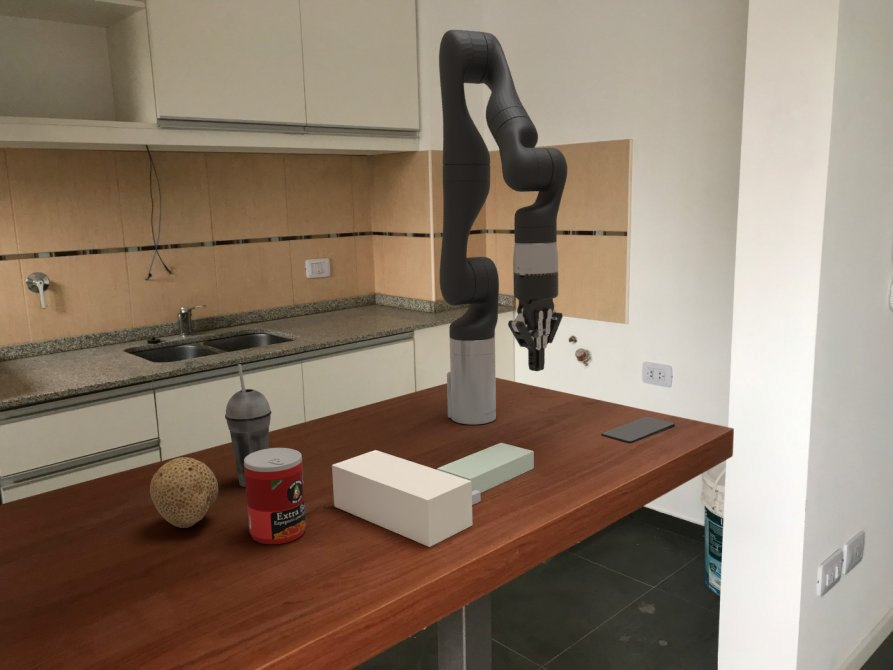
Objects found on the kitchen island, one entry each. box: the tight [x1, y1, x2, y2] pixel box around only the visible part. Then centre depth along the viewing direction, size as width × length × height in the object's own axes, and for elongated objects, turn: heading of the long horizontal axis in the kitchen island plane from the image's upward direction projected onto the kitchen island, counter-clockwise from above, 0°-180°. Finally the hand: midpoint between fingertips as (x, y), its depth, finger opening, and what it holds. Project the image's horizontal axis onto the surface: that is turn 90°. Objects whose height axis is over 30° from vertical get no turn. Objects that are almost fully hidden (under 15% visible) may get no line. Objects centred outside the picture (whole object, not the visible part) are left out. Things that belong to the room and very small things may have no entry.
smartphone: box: [600, 416, 676, 444], centre depth 140 cm, size 7×1×15 cm
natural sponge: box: [149, 456, 219, 529], centre depth 103 cm, size 9×9×10 cm
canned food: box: [244, 447, 307, 545], centre depth 100 cm, size 8×8×11 cm
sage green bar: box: [436, 442, 535, 493], centre depth 118 cm, size 7×16×3 cm, turn 137°
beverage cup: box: [224, 363, 272, 488], centre depth 117 cm, size 7×7×20 cm
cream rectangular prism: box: [331, 449, 482, 548], centre depth 107 cm, size 20×16×6 cm
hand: (536, 370), depth 126 cm, fingers closed
